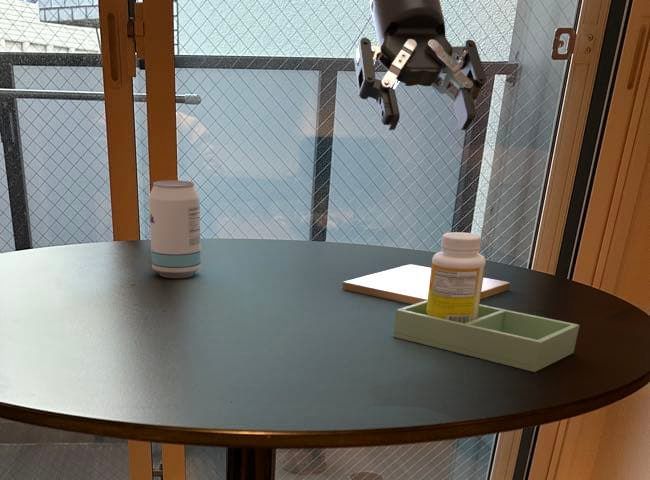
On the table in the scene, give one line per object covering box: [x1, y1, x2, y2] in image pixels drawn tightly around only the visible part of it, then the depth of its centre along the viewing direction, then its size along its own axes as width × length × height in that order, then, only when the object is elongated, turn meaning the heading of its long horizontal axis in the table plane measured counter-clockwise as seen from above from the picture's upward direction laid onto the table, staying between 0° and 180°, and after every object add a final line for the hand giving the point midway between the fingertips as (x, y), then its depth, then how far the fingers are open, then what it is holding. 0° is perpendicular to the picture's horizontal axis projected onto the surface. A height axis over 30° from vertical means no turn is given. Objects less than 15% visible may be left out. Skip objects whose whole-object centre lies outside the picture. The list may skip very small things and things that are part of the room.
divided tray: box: [393, 300, 580, 373], centre depth 86 cm, size 9×17×3 cm, turn 46°
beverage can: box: [148, 180, 202, 279], centre depth 111 cm, size 7×7×12 cm
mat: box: [341, 263, 511, 305], centre depth 108 cm, size 16×16×1 cm
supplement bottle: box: [426, 231, 487, 324], centre depth 86 cm, size 6×6×10 cm
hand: (430, 124), depth 89 cm, fingers open, 8 cm apart
